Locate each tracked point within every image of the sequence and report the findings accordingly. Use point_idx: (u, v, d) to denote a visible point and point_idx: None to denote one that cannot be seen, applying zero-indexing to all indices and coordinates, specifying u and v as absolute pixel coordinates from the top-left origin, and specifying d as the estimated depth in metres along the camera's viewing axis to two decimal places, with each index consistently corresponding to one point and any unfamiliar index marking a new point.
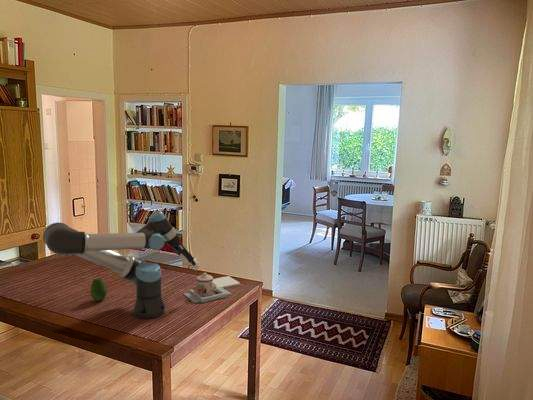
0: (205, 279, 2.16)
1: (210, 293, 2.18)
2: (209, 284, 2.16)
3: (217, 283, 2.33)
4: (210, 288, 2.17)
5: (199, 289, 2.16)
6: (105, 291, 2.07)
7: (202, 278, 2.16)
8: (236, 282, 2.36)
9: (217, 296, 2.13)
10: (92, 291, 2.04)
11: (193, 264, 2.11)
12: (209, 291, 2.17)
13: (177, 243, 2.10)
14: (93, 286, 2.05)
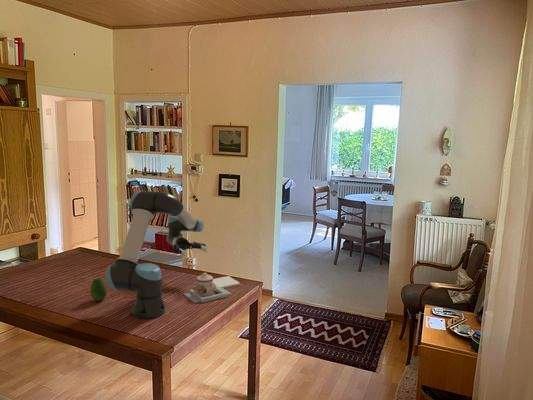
0: (205, 279, 2.16)
1: (210, 293, 2.18)
2: (209, 284, 2.16)
3: (217, 283, 2.33)
4: (210, 288, 2.17)
5: (199, 289, 2.16)
6: (105, 291, 2.07)
7: (202, 278, 2.16)
8: (236, 282, 2.36)
9: (217, 296, 2.13)
10: (92, 291, 2.04)
11: (205, 247, 2.37)
12: (209, 291, 2.17)
13: None
14: (93, 286, 2.05)
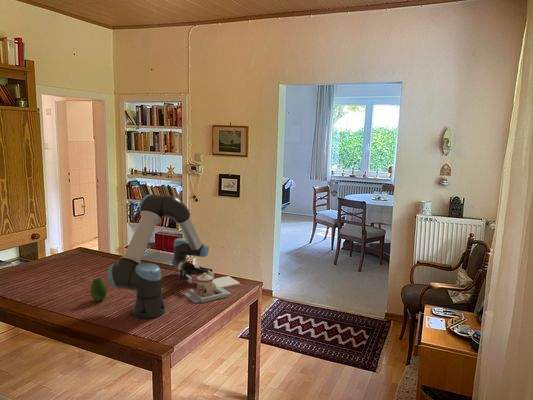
0: (205, 279, 2.16)
1: (210, 293, 2.18)
2: (209, 284, 2.16)
3: (217, 283, 2.33)
4: (210, 288, 2.17)
5: (199, 289, 2.16)
6: (105, 291, 2.07)
7: (202, 278, 2.16)
8: (236, 282, 2.36)
9: (217, 296, 2.13)
10: (92, 291, 2.04)
11: (212, 272, 2.32)
12: (209, 291, 2.17)
13: None
14: (93, 286, 2.05)
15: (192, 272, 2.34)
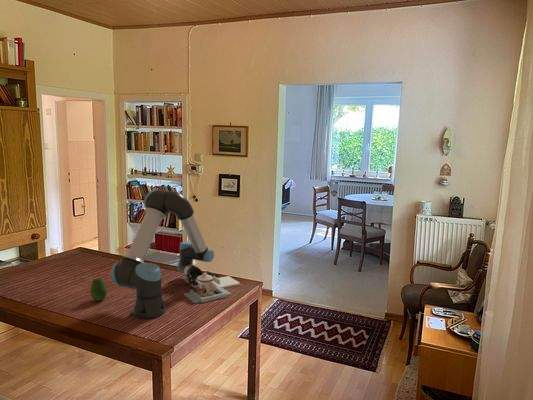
0: (205, 279, 2.16)
1: (210, 293, 2.18)
2: (209, 284, 2.16)
3: None
4: (210, 288, 2.17)
5: (199, 289, 2.16)
6: (105, 291, 2.07)
7: (202, 278, 2.16)
8: (236, 282, 2.36)
9: (217, 296, 2.13)
10: (92, 291, 2.04)
11: (218, 278, 2.23)
12: (209, 291, 2.17)
13: None
14: (93, 286, 2.05)
15: None
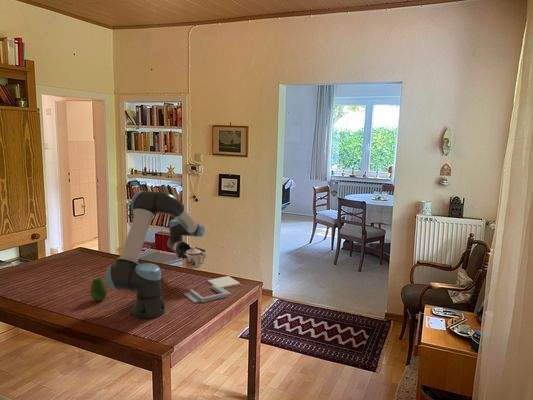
0: (194, 252, 2.27)
1: (199, 266, 2.29)
2: (198, 257, 2.28)
3: (217, 283, 2.33)
4: (199, 261, 2.29)
5: (188, 262, 2.28)
6: (105, 291, 2.07)
7: (191, 251, 2.28)
8: (236, 282, 2.36)
9: (217, 296, 2.13)
10: (92, 291, 2.04)
11: (204, 252, 2.33)
12: (198, 264, 2.29)
13: None
14: (93, 286, 2.05)
15: None
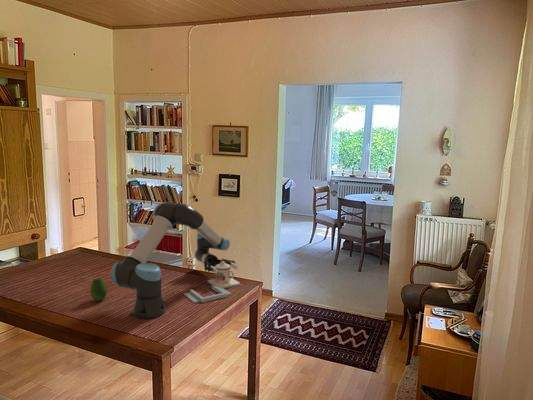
0: (224, 267, 2.33)
1: (228, 280, 2.35)
2: (227, 272, 2.34)
3: (217, 283, 2.33)
4: (228, 275, 2.35)
5: (218, 276, 2.34)
6: (105, 291, 2.07)
7: (221, 266, 2.33)
8: (236, 282, 2.36)
9: (217, 296, 2.13)
10: (92, 291, 2.04)
11: None
12: (227, 278, 2.35)
13: None
14: (93, 286, 2.05)
15: (216, 264, 2.42)
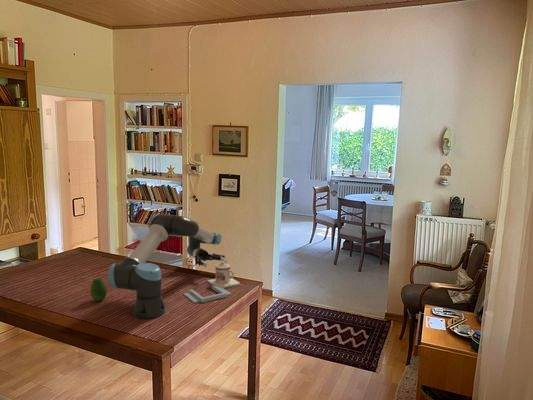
0: (224, 267, 2.33)
1: (228, 280, 2.35)
2: (227, 272, 2.34)
3: (217, 283, 2.33)
4: (228, 275, 2.35)
5: (218, 276, 2.34)
6: (105, 291, 2.07)
7: (221, 266, 2.33)
8: (236, 282, 2.36)
9: (217, 296, 2.13)
10: (92, 291, 2.04)
11: None
12: (227, 278, 2.35)
13: None
14: (93, 286, 2.05)
15: (206, 258, 2.53)
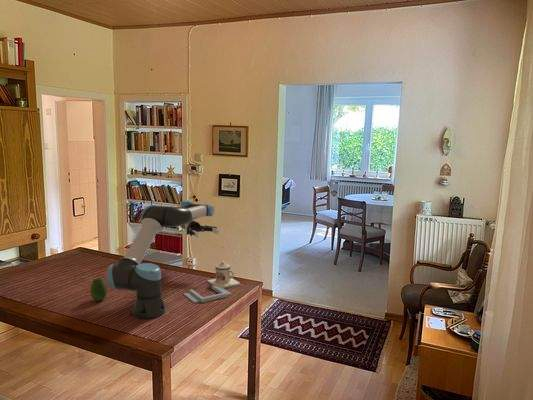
0: (224, 267, 2.33)
1: (228, 280, 2.35)
2: (227, 272, 2.34)
3: (217, 283, 2.33)
4: (228, 275, 2.35)
5: (218, 276, 2.34)
6: (105, 291, 2.07)
7: (221, 266, 2.33)
8: (236, 282, 2.36)
9: (217, 296, 2.13)
10: (92, 291, 2.04)
11: None
12: (227, 278, 2.35)
13: None
14: (93, 286, 2.05)
15: (198, 229, 2.50)
